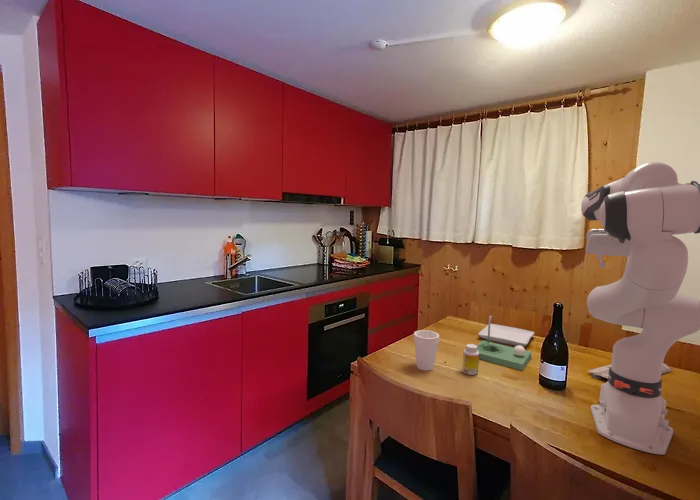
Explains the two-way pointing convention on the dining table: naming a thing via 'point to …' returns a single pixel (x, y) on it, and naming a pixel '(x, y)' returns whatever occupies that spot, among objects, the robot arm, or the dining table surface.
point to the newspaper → (604, 370)
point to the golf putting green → (502, 355)
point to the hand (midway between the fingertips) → (618, 269)
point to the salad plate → (507, 335)
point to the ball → (519, 350)
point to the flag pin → (489, 328)
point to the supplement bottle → (470, 359)
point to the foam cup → (426, 348)
